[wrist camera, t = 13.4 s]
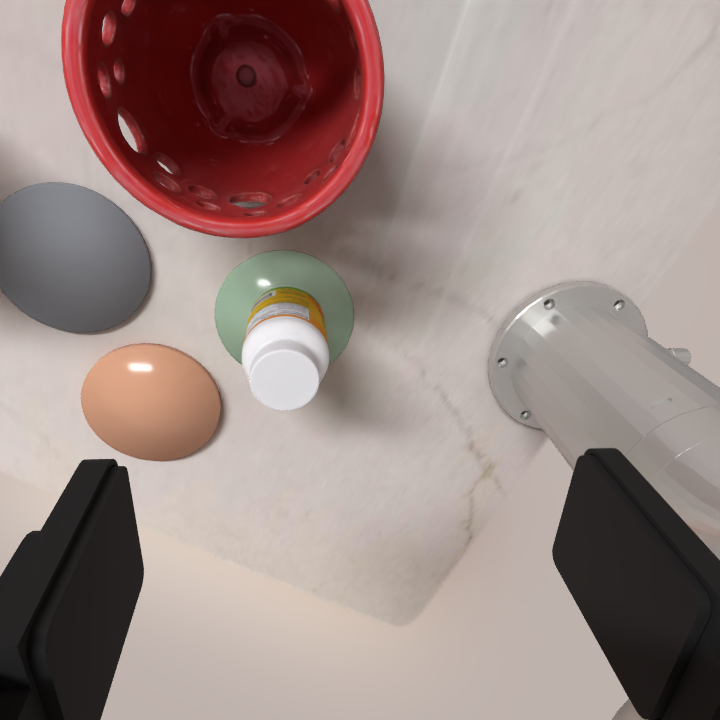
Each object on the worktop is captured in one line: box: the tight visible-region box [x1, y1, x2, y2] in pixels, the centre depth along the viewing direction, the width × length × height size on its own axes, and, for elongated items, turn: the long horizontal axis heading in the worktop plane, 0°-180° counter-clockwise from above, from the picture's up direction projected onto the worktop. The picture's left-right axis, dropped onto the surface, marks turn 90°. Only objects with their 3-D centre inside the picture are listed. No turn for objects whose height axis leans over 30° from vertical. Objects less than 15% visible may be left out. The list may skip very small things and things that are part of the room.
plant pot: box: [61, 0, 384, 238], centre depth 27 cm, size 13×13×12 cm
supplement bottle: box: [242, 285, 329, 411], centre depth 35 cm, size 5×5×10 cm
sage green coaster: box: [215, 250, 354, 365], centre depth 40 cm, size 10×10×1 cm
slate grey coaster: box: [0, 182, 151, 333], centre depth 36 cm, size 10×10×1 cm
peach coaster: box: [81, 343, 221, 461], centre depth 41 cm, size 10×10×1 cm
